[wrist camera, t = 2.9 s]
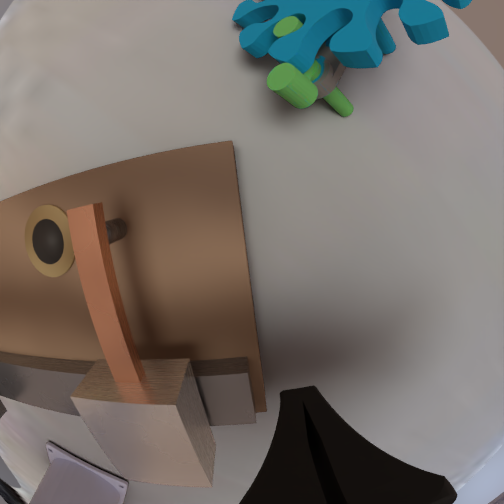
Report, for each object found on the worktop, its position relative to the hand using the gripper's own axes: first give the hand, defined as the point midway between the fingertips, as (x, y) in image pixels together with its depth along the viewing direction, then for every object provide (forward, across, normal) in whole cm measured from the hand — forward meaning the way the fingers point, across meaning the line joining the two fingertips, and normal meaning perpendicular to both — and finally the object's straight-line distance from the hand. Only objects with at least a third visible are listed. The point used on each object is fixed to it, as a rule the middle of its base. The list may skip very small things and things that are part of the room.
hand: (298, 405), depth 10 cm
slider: (+1, +6, -3) cm, 7 cm away
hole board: (+3, +12, -4) cm, 13 cm away
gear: (+4, -3, -16) cm, 17 cm away
